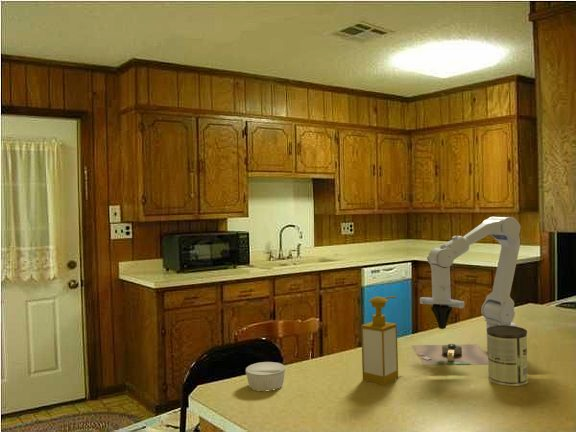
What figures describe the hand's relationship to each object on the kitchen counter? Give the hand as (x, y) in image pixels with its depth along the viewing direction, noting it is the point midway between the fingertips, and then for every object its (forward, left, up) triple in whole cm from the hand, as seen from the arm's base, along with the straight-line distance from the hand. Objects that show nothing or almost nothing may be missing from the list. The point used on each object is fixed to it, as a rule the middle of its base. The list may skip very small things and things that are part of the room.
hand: (442, 328), depth 172 cm
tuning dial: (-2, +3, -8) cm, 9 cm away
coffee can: (-13, +23, -10) cm, 27 cm away
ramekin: (+54, +26, -10) cm, 61 cm away
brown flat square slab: (-3, +1, -9) cm, 10 cm away
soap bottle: (+20, +19, -10) cm, 29 cm away
